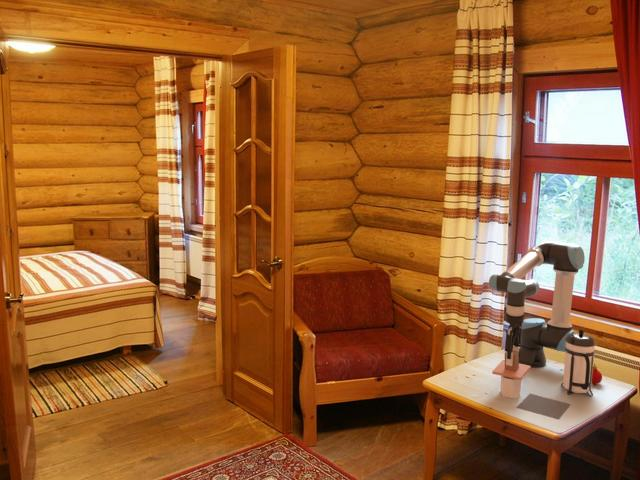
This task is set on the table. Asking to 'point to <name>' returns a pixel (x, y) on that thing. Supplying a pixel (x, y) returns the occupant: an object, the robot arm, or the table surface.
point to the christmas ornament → (596, 375)
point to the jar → (510, 387)
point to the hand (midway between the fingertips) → (512, 362)
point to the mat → (544, 406)
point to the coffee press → (579, 363)
